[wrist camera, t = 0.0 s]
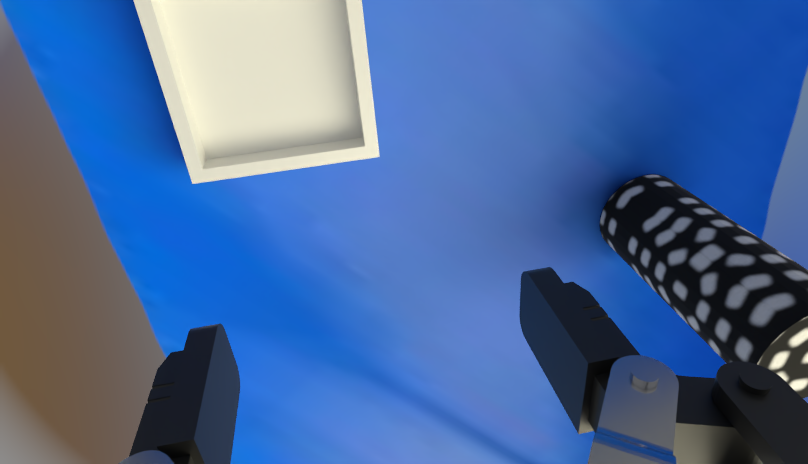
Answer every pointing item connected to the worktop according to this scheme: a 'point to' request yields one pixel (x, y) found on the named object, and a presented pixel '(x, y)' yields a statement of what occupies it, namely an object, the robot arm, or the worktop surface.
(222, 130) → the tray
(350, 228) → the worktop surface
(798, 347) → the white-spotted black cylinder
